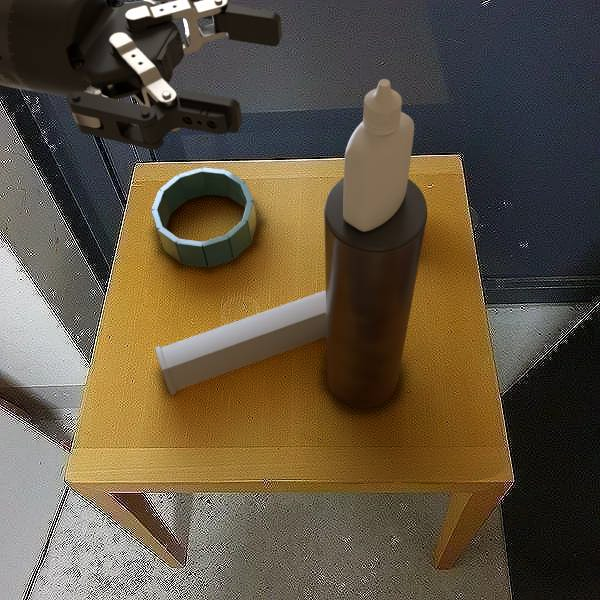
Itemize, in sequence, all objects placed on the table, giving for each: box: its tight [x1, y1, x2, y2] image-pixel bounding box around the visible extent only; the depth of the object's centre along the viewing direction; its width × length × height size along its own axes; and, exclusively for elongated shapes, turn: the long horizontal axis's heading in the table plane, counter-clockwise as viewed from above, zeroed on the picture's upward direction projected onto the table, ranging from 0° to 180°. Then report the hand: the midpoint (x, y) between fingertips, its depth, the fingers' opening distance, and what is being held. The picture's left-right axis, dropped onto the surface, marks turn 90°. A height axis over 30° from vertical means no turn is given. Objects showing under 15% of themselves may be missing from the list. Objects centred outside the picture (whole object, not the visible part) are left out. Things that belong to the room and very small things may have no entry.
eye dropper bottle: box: [343, 78, 415, 232], centre depth 48 cm, size 4×6×12 cm
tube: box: [154, 289, 327, 396], centre depth 79 cm, size 5×5×25 cm
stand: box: [323, 177, 428, 409], centre depth 66 cm, size 8×8×30 cm
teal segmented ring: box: [150, 166, 258, 268], centre depth 89 cm, size 13×13×4 cm
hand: (260, 71), depth 45 cm, fingers open, 8 cm apart
